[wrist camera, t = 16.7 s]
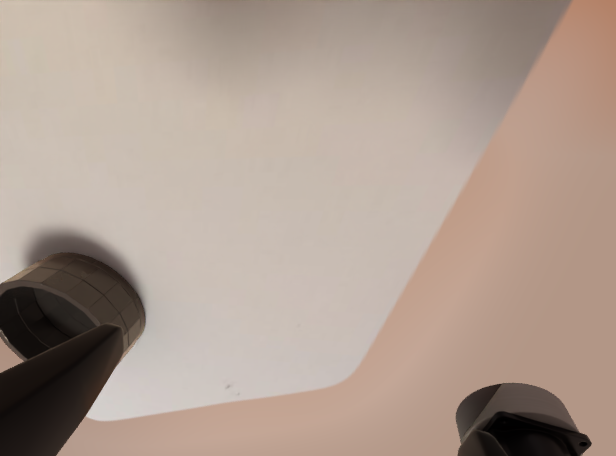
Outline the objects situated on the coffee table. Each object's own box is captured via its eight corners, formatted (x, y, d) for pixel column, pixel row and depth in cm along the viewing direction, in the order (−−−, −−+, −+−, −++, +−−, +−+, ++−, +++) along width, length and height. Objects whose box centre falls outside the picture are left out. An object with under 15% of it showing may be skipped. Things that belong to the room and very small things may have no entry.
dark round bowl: (144, 270, 24) (110, 303, 20) (146, 360, 28) (118, 397, 25) (24, 237, 24) (-27, 263, 21) (44, 330, 28) (4, 363, 25)
